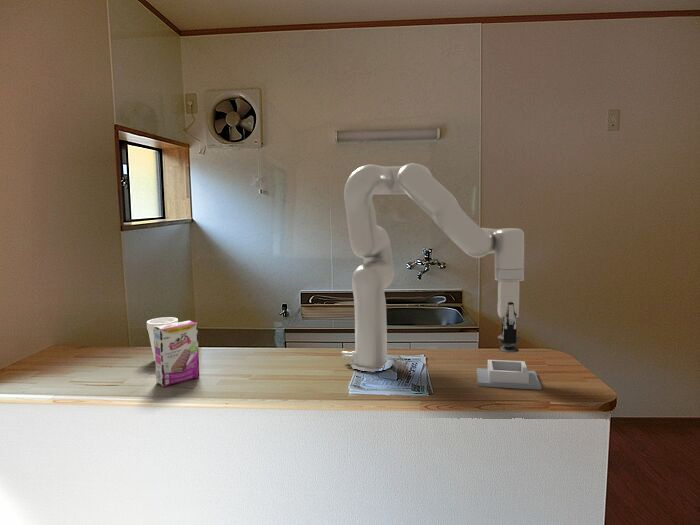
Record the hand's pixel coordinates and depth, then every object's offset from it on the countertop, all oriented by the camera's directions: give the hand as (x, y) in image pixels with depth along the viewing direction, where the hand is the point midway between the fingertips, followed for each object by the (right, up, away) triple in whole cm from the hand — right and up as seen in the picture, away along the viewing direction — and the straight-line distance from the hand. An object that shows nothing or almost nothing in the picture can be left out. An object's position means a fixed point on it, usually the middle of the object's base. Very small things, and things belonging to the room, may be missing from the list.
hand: (508, 339), depth 140 cm
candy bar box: (-92, -13, +6) cm, 93 cm away
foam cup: (-103, -11, +26) cm, 107 cm away
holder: (0, -11, +1) cm, 12 cm away
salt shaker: (0, -3, 0) cm, 3 cm away
